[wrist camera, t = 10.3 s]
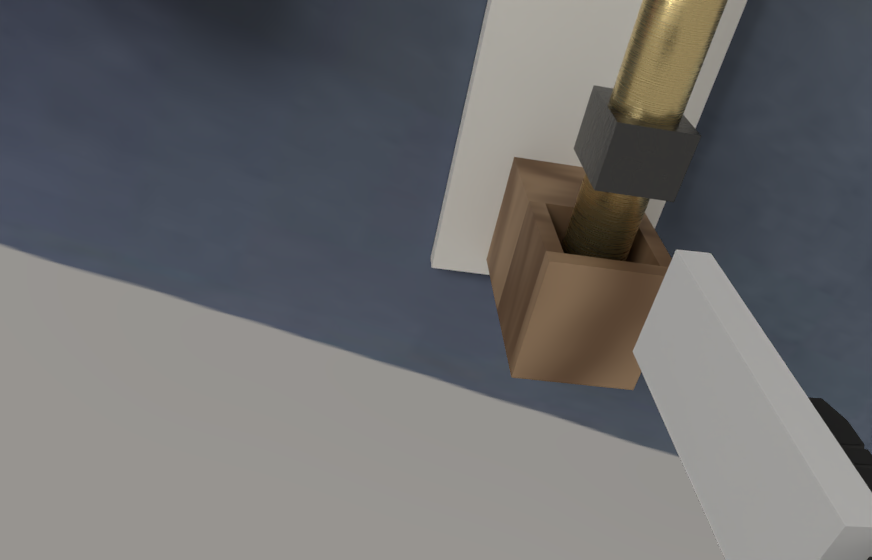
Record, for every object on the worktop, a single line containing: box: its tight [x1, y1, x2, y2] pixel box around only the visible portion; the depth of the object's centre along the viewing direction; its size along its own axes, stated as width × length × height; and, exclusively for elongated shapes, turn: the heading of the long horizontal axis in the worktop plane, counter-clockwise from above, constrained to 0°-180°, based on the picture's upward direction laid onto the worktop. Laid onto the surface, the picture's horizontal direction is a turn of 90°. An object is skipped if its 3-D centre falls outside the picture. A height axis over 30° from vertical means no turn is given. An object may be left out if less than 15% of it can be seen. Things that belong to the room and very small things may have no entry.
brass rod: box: [561, 0, 728, 261], centre depth 30 cm, size 4×26×4 cm, turn 169°
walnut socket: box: [486, 157, 672, 390], centre depth 38 cm, size 6×6×10 cm
